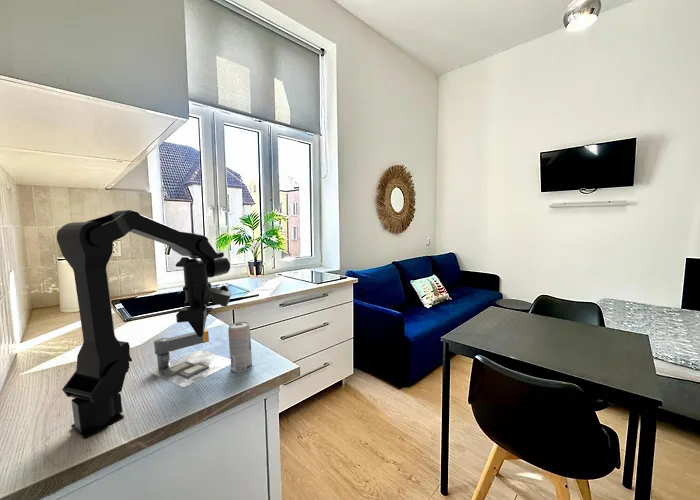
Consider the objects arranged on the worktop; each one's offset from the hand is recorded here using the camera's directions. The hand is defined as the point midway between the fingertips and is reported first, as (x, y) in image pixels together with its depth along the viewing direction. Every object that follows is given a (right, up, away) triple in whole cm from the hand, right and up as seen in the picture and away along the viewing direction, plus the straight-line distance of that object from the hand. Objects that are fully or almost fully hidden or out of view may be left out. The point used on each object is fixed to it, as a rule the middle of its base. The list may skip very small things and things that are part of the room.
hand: (201, 336), depth 84 cm
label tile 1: (0, -8, -5) cm, 9 cm away
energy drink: (+12, -8, -3) cm, 15 cm away
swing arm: (-6, -3, +1) cm, 6 cm away
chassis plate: (-1, -8, -2) cm, 8 cm away
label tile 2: (-4, -8, -3) cm, 9 cm away
